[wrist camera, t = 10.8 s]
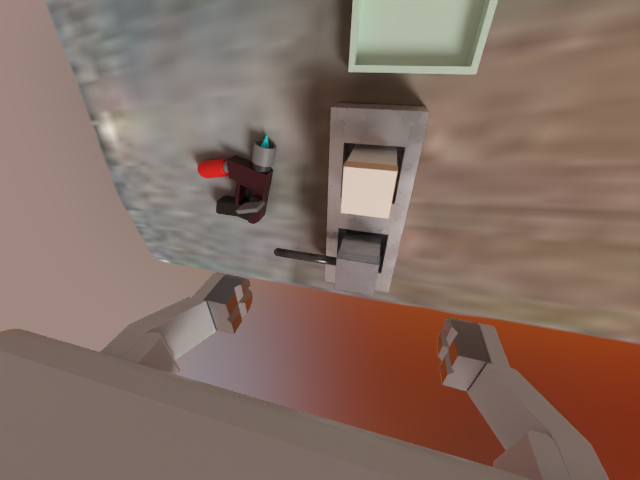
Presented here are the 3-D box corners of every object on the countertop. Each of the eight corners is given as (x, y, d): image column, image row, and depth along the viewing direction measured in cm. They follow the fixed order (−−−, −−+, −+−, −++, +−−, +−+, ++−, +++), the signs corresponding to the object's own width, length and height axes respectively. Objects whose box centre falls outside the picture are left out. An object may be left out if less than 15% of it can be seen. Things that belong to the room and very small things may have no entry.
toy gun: (285, 137, 29) (267, 147, 25) (268, 223, 36) (253, 242, 32) (205, 107, 29) (175, 113, 25) (205, 198, 36) (181, 214, 32)
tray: (517, -93, 16) (531, -111, 15) (469, 74, 21) (476, 74, 20) (361, -79, 18) (358, -93, 17) (351, 71, 23) (348, 72, 22)
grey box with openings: (425, 105, 23) (437, 121, 17) (389, 271, 35) (387, 321, 28) (286, 100, 26) (247, 111, 19) (294, 256, 37) (271, 298, 30)
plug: (397, 144, 25) (398, 170, 19) (390, 184, 28) (388, 219, 21) (356, 142, 26) (343, 165, 20) (352, 180, 28) (340, 213, 22)
